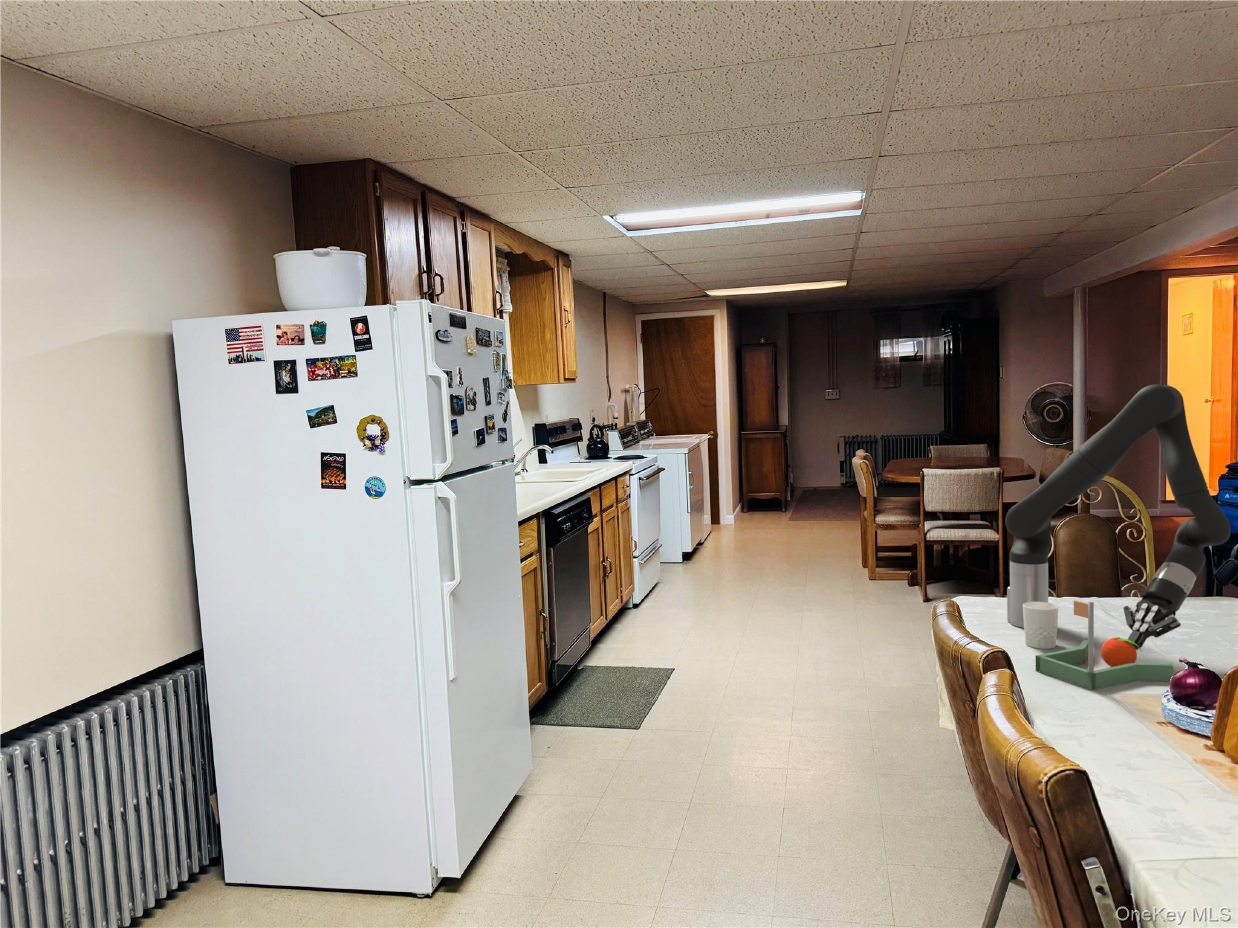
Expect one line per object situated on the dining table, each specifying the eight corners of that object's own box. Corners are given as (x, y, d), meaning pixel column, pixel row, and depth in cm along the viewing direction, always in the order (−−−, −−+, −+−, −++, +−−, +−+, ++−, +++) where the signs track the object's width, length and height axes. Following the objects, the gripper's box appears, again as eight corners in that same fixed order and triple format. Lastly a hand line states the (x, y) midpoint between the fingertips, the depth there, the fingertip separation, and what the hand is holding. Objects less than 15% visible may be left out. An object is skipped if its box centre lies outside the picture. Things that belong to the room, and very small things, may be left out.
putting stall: (1022, 665, 193) (1021, 586, 191) (1085, 653, 199) (1085, 576, 198) (1107, 695, 172) (1107, 607, 171) (1175, 681, 179) (1175, 595, 177)
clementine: (1145, 668, 187) (1145, 636, 187) (1138, 676, 182) (1138, 644, 182) (1105, 661, 193) (1105, 631, 192) (1097, 669, 188) (1097, 638, 187)
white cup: (1044, 651, 202) (1044, 611, 201) (1015, 644, 209) (1015, 604, 208) (1065, 646, 206) (1065, 606, 205) (1036, 638, 213) (1036, 600, 212)
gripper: (1134, 571, 197) (1097, 630, 194) (1190, 581, 185) (1151, 644, 181) (1150, 591, 199) (1113, 649, 196) (1206, 602, 187) (1168, 664, 184)
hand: (1132, 647), depth 189 cm, fingers closed
